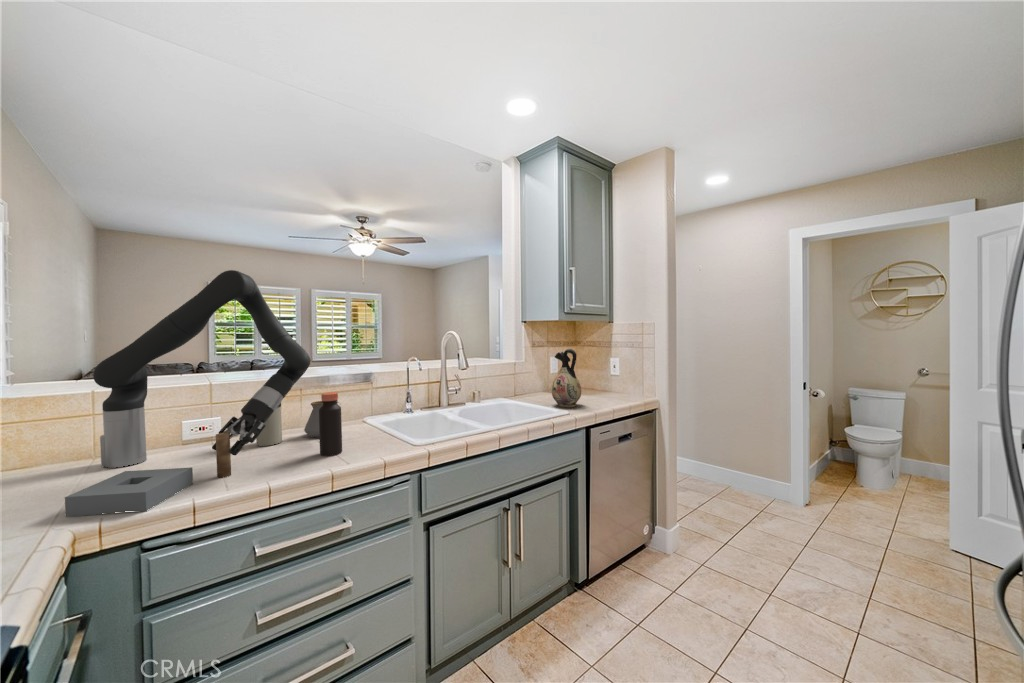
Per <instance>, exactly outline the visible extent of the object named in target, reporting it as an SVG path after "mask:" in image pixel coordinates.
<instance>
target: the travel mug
mask: <svg viewBox="0 0 1024 683" xmlns="http://www.w3.org/2000/svg"><path fill="white" fill-rule="evenodd" d="M282 416H283V415H282V402H281V403H280V405H279V406H278V407H277V408H276V410H275V411H274V412H273V413H272V415H271V416H270V417H269V418H268V419H267V421H266V422H265V423H264V424H265V425H266V426H265V428H264V429H263V430H262V432H261V433H260V434H259V435H258V437H257V438H256V439H255V441H256V443H255V444H256V445H257V446H258V445H259V447H269V446H268V445H271V446H275V445H274V444H276V445H279V444H280V443H282V442H283V424H282V423H283V420H282ZM278 443H279V444H278Z"/></svg>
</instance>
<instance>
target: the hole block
mask: <svg viewBox="0 0 1024 683" xmlns="http://www.w3.org/2000/svg"><path fill="white" fill-rule="evenodd" d="M193 477H194V475H193V467H191V466H190V467H177V468H176V467H175V468H157V469H141V470H124V471H122V472H120V473H116V475H112V476H110V477H108V478H106V479H104V480H102V481H99V482H97V483H94V484H92V485H90V486H87V487H85V488H83V489H81V490H78V491H75V492H73V493H71V494H69V495H67V496H64V508H65V510H64V511H65V517H66V518H72V517H73V516H74V517H86V516H87V515H88V516H97V515H96V514H102V513H115V512H125V511H146V512H148V511H149V510H148V509H150V508H152V507H153V506H155V505H157V504H158V505H160V504H161V503H160V502H162V501H163V502H165V501H166V500H165V499H167V498H168V499H170V498H172V497H173V496H175V495H176V494H175V493H177V492H179V491H180V492H182V491H183V490H182V489H184V488H185V489H187V488H188V486H189V485H190V486H192V485H194V478H193ZM191 484H192V485H191ZM190 486H189V487H190ZM186 487H187V488H186ZM185 489H184V490H185ZM181 490H182V491H181ZM180 492H179V493H180ZM174 494H175V495H174ZM177 494H178V493H177ZM172 495H173V496H172ZM171 496H172V497H171ZM169 497H170V498H169ZM168 499H167V500H168ZM164 500H165V501H164ZM163 502H162V503H163ZM159 503H160V504H159ZM158 505H157V506H158ZM155 507H156V506H155ZM153 508H154V507H153ZM153 508H152V509H153ZM147 510H148V511H147ZM150 510H151V509H150ZM84 515H86V516H84ZM74 517H73V518H74Z"/></svg>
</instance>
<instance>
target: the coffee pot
mask: <svg viewBox="0 0 1024 683" xmlns="http://www.w3.org/2000/svg"><path fill="white" fill-rule="evenodd" d="M337 404H340V402H339V401H337ZM322 405H323V402H322V400H319V401H318V400H317V401H313V402H312V401H311V403H310V406H312V410H311V412H310V413H309V416H308V420H307V422H306V424H305V427H304V429H303V430H304V433H305V434H307V435H308V436H309V437H310V436H311V438H314V437H317V438H319V409H320V407H321V406H322Z"/></svg>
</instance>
